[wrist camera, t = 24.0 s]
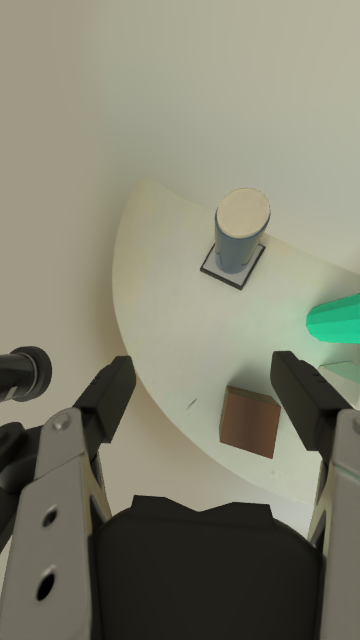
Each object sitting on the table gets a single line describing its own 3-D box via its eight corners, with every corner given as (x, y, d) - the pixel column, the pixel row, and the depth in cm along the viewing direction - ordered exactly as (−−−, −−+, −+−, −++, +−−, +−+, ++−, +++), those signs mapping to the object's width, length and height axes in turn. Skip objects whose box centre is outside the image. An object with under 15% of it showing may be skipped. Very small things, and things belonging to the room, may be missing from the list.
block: (218, 427, 28) (219, 442, 25) (226, 385, 29) (228, 392, 25) (264, 441, 27) (272, 459, 23) (271, 396, 27) (281, 406, 23)
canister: (212, 271, 30) (210, 235, 19) (218, 239, 30) (220, 185, 19) (247, 276, 28) (267, 239, 18) (253, 242, 29) (276, 186, 18)
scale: (200, 270, 32) (199, 267, 30) (222, 232, 31) (222, 227, 30) (241, 290, 30) (242, 288, 28) (264, 249, 30) (266, 245, 28)
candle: (297, 319, 28) (357, 306, 16) (330, 296, 27) (417, 265, 15) (325, 350, 26) (412, 361, 15) (360, 326, 26) (480, 318, 14)
